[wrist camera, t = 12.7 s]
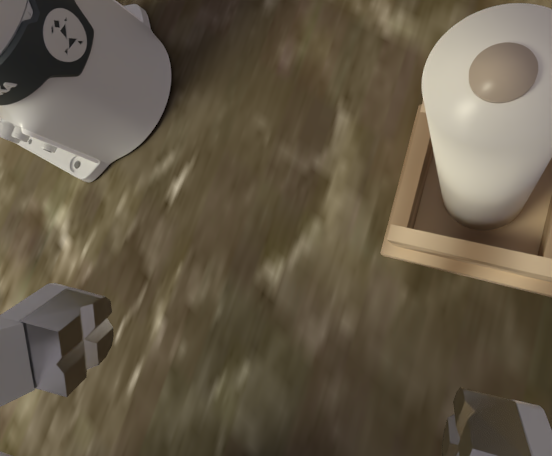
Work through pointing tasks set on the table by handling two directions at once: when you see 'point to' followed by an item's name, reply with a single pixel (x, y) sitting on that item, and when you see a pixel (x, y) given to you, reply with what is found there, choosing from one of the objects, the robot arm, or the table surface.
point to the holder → (464, 241)
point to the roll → (491, 111)
